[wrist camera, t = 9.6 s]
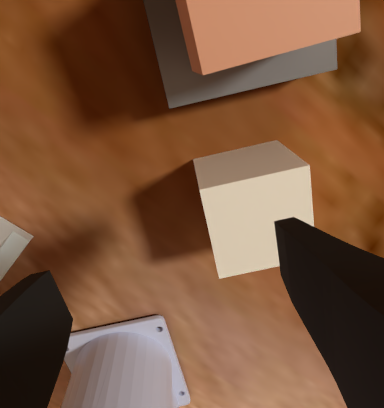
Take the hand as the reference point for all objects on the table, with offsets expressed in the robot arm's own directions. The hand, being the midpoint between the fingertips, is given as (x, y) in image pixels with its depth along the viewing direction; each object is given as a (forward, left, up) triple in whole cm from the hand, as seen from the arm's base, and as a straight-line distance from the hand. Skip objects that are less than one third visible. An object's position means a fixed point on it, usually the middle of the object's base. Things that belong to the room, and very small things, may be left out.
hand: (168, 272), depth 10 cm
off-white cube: (-2, -4, -10) cm, 11 cm away
